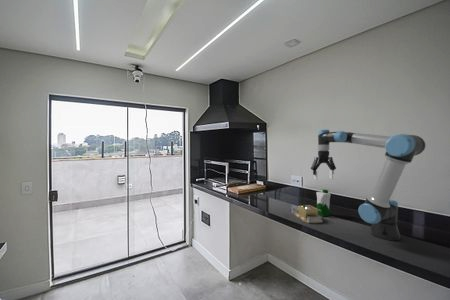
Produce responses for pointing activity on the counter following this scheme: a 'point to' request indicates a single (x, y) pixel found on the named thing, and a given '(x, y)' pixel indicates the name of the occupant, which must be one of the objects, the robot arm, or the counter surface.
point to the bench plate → (307, 220)
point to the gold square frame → (307, 211)
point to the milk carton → (323, 203)
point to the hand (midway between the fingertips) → (323, 179)
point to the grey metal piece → (311, 218)
